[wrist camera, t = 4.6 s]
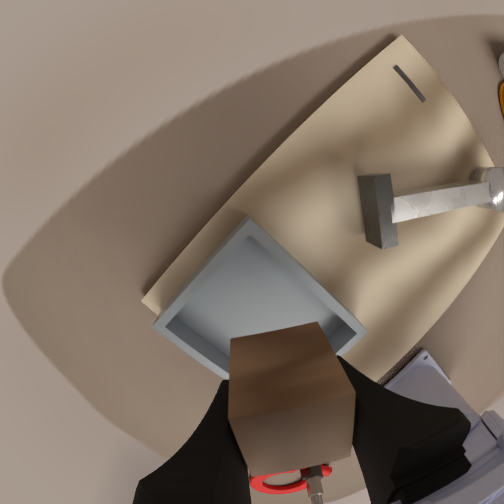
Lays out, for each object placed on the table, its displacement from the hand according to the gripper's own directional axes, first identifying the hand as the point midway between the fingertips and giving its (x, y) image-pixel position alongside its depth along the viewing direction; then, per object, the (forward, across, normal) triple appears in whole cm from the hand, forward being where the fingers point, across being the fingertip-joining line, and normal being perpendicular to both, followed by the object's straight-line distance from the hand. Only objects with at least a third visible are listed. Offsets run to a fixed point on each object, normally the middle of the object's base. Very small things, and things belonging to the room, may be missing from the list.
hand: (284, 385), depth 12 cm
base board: (+9, -9, -3) cm, 13 cm away
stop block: (+1, 0, 0) cm, 1 cm away
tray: (+8, 0, 0) cm, 8 cm away
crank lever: (+8, -15, -6) cm, 18 cm away
